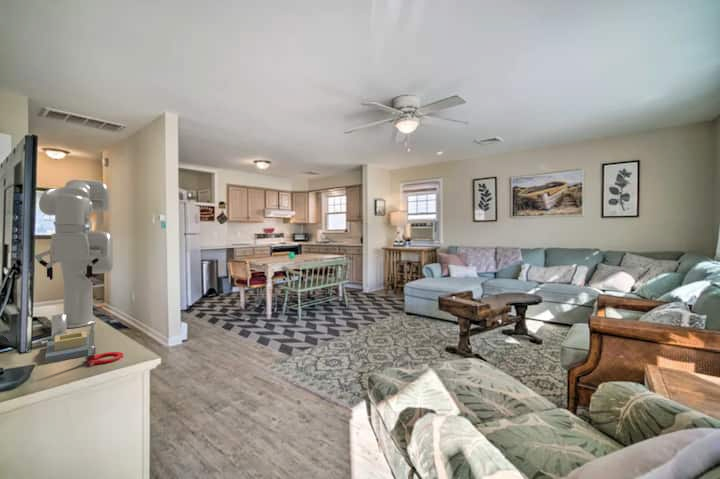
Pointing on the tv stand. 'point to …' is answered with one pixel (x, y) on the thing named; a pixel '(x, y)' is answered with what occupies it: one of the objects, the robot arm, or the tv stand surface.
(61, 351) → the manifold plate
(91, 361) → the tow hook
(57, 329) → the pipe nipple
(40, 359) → the tv stand surface
